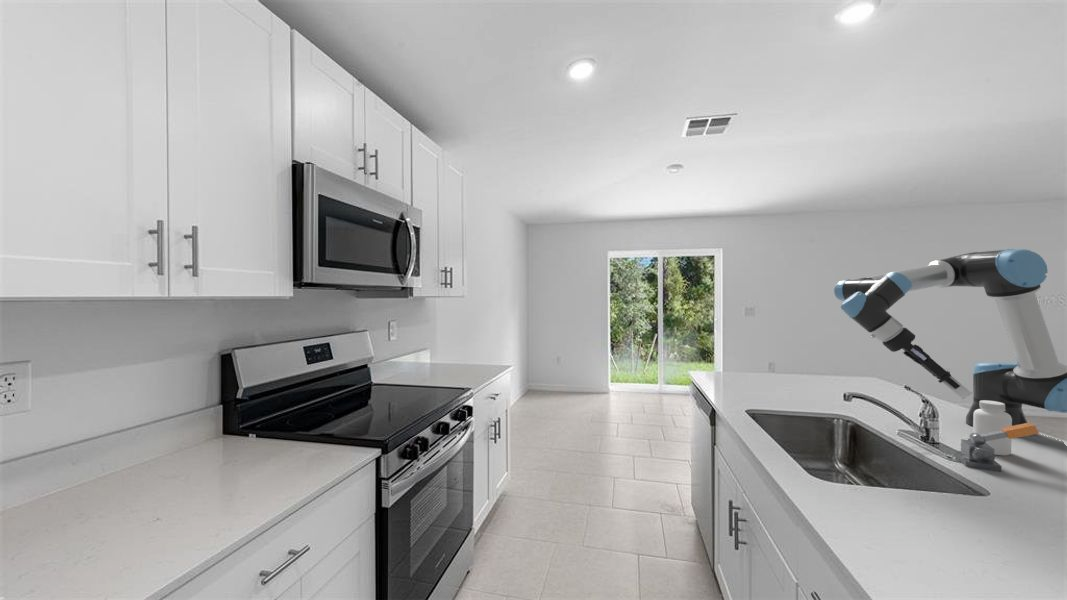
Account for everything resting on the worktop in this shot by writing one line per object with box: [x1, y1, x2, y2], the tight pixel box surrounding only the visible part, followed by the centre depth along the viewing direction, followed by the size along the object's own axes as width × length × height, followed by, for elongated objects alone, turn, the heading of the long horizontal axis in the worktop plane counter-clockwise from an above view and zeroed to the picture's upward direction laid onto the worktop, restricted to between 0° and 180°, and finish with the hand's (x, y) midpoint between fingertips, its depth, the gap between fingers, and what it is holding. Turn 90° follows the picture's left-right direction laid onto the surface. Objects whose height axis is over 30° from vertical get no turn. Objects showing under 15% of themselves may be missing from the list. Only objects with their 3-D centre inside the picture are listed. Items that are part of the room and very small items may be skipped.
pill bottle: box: [972, 400, 1013, 456], centre depth 128 cm, size 8×8×15 cm
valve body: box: [954, 438, 1002, 472], centre depth 119 cm, size 7×9×6 cm
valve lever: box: [968, 422, 1040, 445], centre depth 117 cm, size 2×3×13 cm
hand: (966, 395), depth 120 cm, fingers closed
